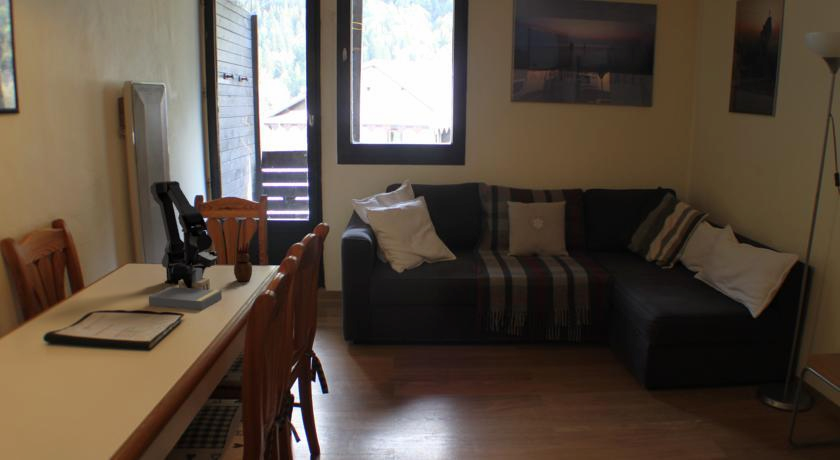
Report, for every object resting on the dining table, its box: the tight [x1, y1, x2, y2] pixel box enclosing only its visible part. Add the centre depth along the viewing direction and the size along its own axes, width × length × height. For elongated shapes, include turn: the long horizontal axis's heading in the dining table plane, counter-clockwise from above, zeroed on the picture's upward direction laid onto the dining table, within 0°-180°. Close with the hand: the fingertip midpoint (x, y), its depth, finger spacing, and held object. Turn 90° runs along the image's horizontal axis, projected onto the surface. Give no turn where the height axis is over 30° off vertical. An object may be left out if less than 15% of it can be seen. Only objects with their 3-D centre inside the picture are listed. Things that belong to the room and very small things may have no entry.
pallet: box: [178, 277, 211, 290], centre depth 251 cm, size 9×6×4 cm, turn 77°
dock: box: [148, 286, 222, 311], centre depth 237 cm, size 20×13×3 cm, turn 77°
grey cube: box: [192, 268, 204, 282], centre depth 250 cm, size 4×4×4 cm
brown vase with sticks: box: [233, 242, 253, 282], centre depth 264 cm, size 7×6×15 cm
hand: (194, 286), depth 251 cm, fingers closed on pallet, 6 cm apart
